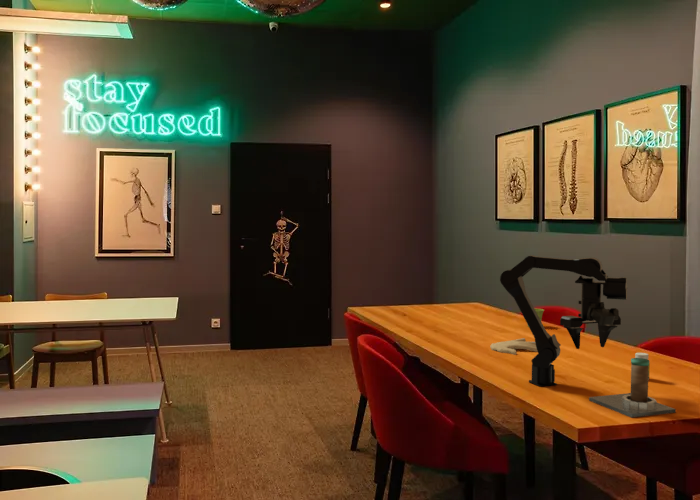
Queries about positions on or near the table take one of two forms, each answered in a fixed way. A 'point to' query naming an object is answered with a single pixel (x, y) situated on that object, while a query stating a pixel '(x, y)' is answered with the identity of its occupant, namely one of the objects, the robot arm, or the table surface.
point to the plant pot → (539, 313)
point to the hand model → (513, 346)
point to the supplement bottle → (644, 356)
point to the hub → (632, 405)
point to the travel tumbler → (639, 379)
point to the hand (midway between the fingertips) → (590, 348)
